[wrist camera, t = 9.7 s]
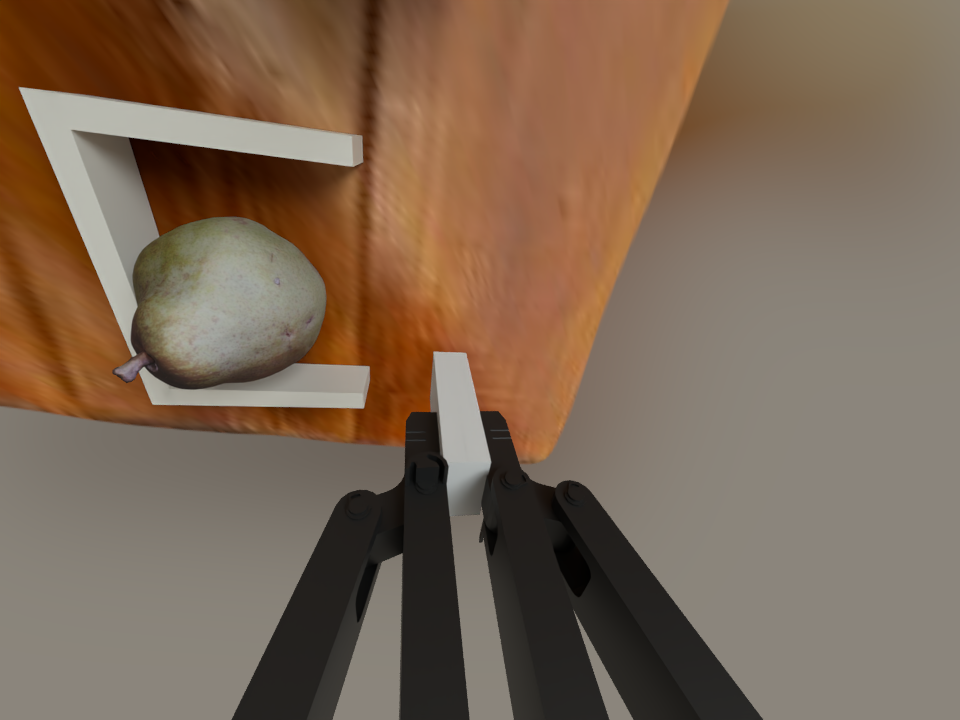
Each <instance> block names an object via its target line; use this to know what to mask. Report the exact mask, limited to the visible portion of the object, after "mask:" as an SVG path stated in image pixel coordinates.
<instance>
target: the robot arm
mask: <svg viewBox="0 0 960 720" xmlns="http://www.w3.org/2000/svg"><path fill="white" fill-rule="evenodd" d="M430 403H431V412H411V414H410V416H409V417H408V419H407V420H406V439H405V474H404V477H403V479H402V481H401V482H400V483H399V484H398V486H396V487H395V488H393V489H392V490H389V491H387V492H384V493H381V494H379V495H376V494H375V493H373V492H370V491H368V490H357V491H353V492H350V493H348V494H347V495H345V496H344V497H342V498H341V499H340V501H339V502H338V503H337V505H336V506H335V508H334V511H333V513H332V515H331V517H330V519H329V521H328V523H327V525H326V527H325V529H324V531H323V533H322V535H321V537H320V539H319V541H318V543H317V546H316V547H315V549H314V552H313V554H312V556H311V558H310V560H309V562H308V564H307V566H306V568H305V570H304V572H303V574H302V576H301V578H300V580H299V582H298V584H297V586H296V588H295V591H294V593H293V595H292V597H291V599H290V601H289V603H288V605H287V607H286V609H285V611H284V613H283V615H282V617H281V619H280V622H279V624H278V625H277V628H276V630H275V632H274V634H273V636H272V638H271V640H270V642H269V644H268V646H267V648H266V650H265V652H264V654H263V656H262V658H261V661H260V662H259V665H258V667H257V669H256V671H255V673H254V675H253V677H252V679H251V681H250V683H249V685H248V687H247V689H246V691H245V693H244V695H243V698H242V699H241V701H240V704H239V706H238V708H237V710H236V712H235V714H234V716H233V718H232V720H332V719H333V716H334V712H335V709H336V706H337V703H338V700H339V697H340V693H341V690H342V687H343V684H344V681H345V677H346V674H347V671H348V668H349V665H350V661H351V658H352V655H353V652H354V649H355V645H356V642H357V639H358V636H359V633H360V630H361V626H362V623H363V620H364V617H365V614H366V610H367V607H368V604H369V601H370V597H371V594H372V591H373V588H374V585H375V582H376V579H377V575H378V572H379V569H380V566H381V563H382V561H385V560H387V559H390V558H392V557H394V556H397V555H399V554H401V553H403V564H402V612H401V614H402V615H401V660H400V662H401V663H400V710H399V712H400V713H399V720H469V710H468V699H467V689H466V679H465V668H464V658H463V648H462V639H461V628H460V618H459V607H458V598H457V597H458V596H457V586H456V576H455V566H454V555H453V545H452V535H451V525H450V516H461V515H462V516H463V515H479V514H480V511H481V506H482V510H483V515H484V519H483V523H482V528H481V532H480V537H479V538H480V539H479V542H482V541H483V537H484V543H485V549H486V555H487V561H488V567H489V573H490V579H491V585H492V591H493V597H494V603H495V609H496V614H497V621H498V627H499V633H500V639H501V644H502V651H503V656H504V663H505V669H506V674H507V680H508V686H509V692H510V698H511V704H512V710H513V716H514V720H609V717H608V714H607V711H606V708H605V705H604V703H603V699H602V696H601V693H600V690H599V687H598V684H597V681H596V678H595V675H594V672H593V669H592V666H591V662H590V659H589V656H588V653H587V650H586V647H585V644H584V641H583V638H582V635H581V632H580V629H579V626H578V623H577V620H576V617H575V614H574V611H575V613H576V615H577V617H578V619H579V620H580V622H581V624H582V626H583V628H584V630H585V631H586V633H587V635H588V637H589V639H590V641H591V642H592V644H593V646H594V648H595V650H596V651H597V653H598V655H599V657H600V659H601V661H602V663H603V664H604V666H605V668H606V670H607V672H608V674H609V675H610V677H611V679H612V681H613V683H614V685H615V687H616V688H617V690H618V692H619V694H620V695H621V698H622V699H623V701H624V703H625V705H626V707H627V709H628V710H629V712H630V714H631V716H632V717H633V719H634V720H763V719H762V717H761V716H760V715H759V713H758V712H757V711H756V710H755V709H754V707H753V706H752V704H751V703H750V702H749V700H748V699H747V698H746V696H745V695H744V694H743V692H742V691H741V690H740V688H739V687H738V686H737V684H736V683H735V682H734V680H733V679H732V678H731V676H730V675H729V674H728V673H727V671H726V670H725V669H724V667H723V666H722V665H721V663H720V662H719V661H718V659H717V658H716V657H715V655H714V654H713V653H712V651H711V650H710V649H709V647H708V646H707V645H706V643H705V642H704V641H703V639H702V638H701V637H700V635H699V634H698V633H697V631H696V630H695V629H694V628H693V626H692V625H691V624H690V622H689V621H688V620H687V618H686V617H685V616H684V614H683V613H682V612H681V610H680V609H679V608H678V606H677V605H676V604H675V602H674V601H673V600H672V598H671V597H670V596H669V594H668V593H667V592H666V591H665V589H664V588H663V587H662V585H661V584H660V583H659V581H658V580H657V579H656V577H655V576H654V575H653V573H652V572H651V571H650V569H649V568H648V567H647V565H646V564H645V563H644V561H643V560H642V559H641V557H640V556H639V555H638V553H637V552H636V551H635V550H634V548H633V547H632V546H631V544H630V543H629V542H628V540H627V539H626V538H625V536H624V535H623V534H622V532H621V531H620V530H619V528H618V527H617V526H616V525H615V523H614V522H613V520H612V519H611V518H610V516H609V515H608V514H607V512H606V511H605V510H604V509H603V507H602V506H601V505H600V503H599V502H598V501H597V500H596V498H595V497H594V495H593V494H592V493H591V492H590V490H589V489H588V488H586V487H585V486H584V485H582V484H580V483H579V482H575V481H571V480H569V481H563V482H561V483H559V484H558V485H557V487H556V488H554V487H550V486H546V485H542V484H539V483H536V482H534V481H532V480H531V479H530V478H529V476H528V475H527V474H526V473H525V472H524V471H523V470H522V469H521V467H520V464H519V461H518V458H517V455H516V452H515V448H514V445H513V442H512V439H511V436H510V432H509V431H508V430H509V429H508V426H507V423H506V420H505V419H504V417H503V416H502V415H501V414H500V413H499V412H498V411H479V407H478V403H477V398H476V394H475V390H474V386H473V381H472V377H471V373H470V368H469V364H468V360H467V355H466V353H455V352H434V355H433V368H432V381H431V394H430ZM573 609H574V611H573Z"/></svg>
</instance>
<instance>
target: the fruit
mask: <svg viewBox="0 0 960 720" xmlns="http://www.w3.org/2000/svg"><path fill="white" fill-rule="evenodd" d="M132 278H133V287H134V292H135V297H136V302H137V306H138V307H137V309H136V311H135V313H134V316H133V320H132V326H131V345H132V347H133V349H134V350H135V352H136V354H137V355H136V356H134V357H131V359H130V360H129V361H128V362H126V363H125V364H124V365H122V366H120V367H116V368H115V369H114V370H113V374H114V375H117V376H118V377H119V378H121V379H122V380H123V381H125V382H126V383H128V382H131V381H133V380H134V379H135V377H136V375H137V373H138V372H139V371H140V370H141V369H142V368H143V367H145V368H146V370H147V371H148V372H149V373H151V374H152V375H153V376H154V377H155V378H157V379H159V380H160V381H162V382H164V383H166V384H168V385H170V386H173V387H176V388H179V389H187V390H196V389H205V388H210V387H214V386H217V385H220V384H223V383H245V382H250V381H255V380H259V379H263V378H266V377H268V376H271V375H273V374H275V373H278V372H280V371H282V370H284V369H285V368H287V367H289V366H291V365H292V364H294V363H296V362H297V361H299V360H300V359H301V358H303V357H304V355H305V354H306V353H307V352H308V351H309V350H310V349H311V347H312V346H313V344H314V343H315V341H316V339H317V337H318V334H319V331H320V328H321V325H322V322H323V319H324V314H325V307H326V291H325V284H324V282H323V280H322V278H321V276H320V274H319V273H318V271H317V270H316V269H315V268H314V266H313V265H312V264H311V263H310V262H309V260H308V259H307V258H306V257H305V256H304V254H303V253H302V252H301V251H300V250H299V249H298V248H297V247H295V246H294V245H293V244H292V243H290V242H289V241H287V240H286V239H284V238H282V237H280V236H279V235H277V234H275V233H274V232H272V231H270V230H269V229H268V228H266V227H265V226H263V225H261V224H259V223H257V222H255V221H252V220H250V219H247V218H240V217H215V218H209V219H204V220H200V221H196V222H191V223H188V224H185V225H182V226H179V227H177V228H175V229H174V230H172V231H170V232H168V233H166V234H164V235H162V236H160V237H159V238H157V239H155V240H154V241H152V242H151V243H150V244H148V245H147V246H146V247H145V248H144V249H143V250H142V251H141V253H140V254H139V256H138V258H137V260H136V262H135V264H134V269H133V275H132Z"/></svg>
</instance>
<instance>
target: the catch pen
mask: <svg viewBox="0 0 960 720" xmlns="http://www.w3.org/2000/svg"><path fill="white" fill-rule="evenodd" d="M19 89H20V92H21V94H22V96H23V99H24V101H25V103H26V106H27V108H28V111H29V113H30V115H31V118H32V120H33V122H34V125H35V127H36V130H37V132H38V134H39V137H40V139H41V141H42V144H43V146H44V148H45V151H46V153H47V156H48V158H49V160H50V163H51V165H52V167H53V170H54V172H55V175H56V177H57V179H58V182H59V184H60V186H61V189H62V191H63V193H64V196H65V198H66V201H67V203H68V205H69V208H70V210H71V212H72V215H73V217H74V220H75V222H76V224H77V227H78V229H79V231H80V234H81V236H82V238H83V241H84V243H85V246H86V248H87V250H88V253H89V255H90V257H91V260H92V262H93V265H94V267H95V269H96V272H97V274H98V276H99V279H100V281H101V283H102V286H103V288H104V291H105V293H106V295H107V298H108V300H109V302H110V305H111V307H112V310H113V312H114V314H115V317H116V319H117V321H118V324H119V326H120V328H121V331H122V333H123V336H124V338H125V340H126V343H127V345H128V347H129V350H130V352H131V355H132V357H134V356H136V355H137V354H136V352H135V350H134V349H133V347H132V345H131V326H132V320H133V316H134V313H135V311H136V309H137V307H138V306H137V302H136V297H135V292H134V287H133V278H132V275H133V269H134V264H135V262H136V260H137V258H138V256H139V254H140V253H141V251H142V250H143V249H144V248H145V247H146V246H147V245H148V244H150V243H151V242H152V241H154V240H155V239H157V238H159V233H158V230H157V227H156V224H155V221H154V218H153V214H152V211H151V208H150V205H149V202H148V198H147V195H146V192H145V189H144V186H143V183H142V179H141V176H140V173H139V170H138V167H137V164H136V160H135V157H134V154H133V151H132V148H131V145H130V141H129V138H128V137H131V138H138V139H146V140H154V141H161V142H169V143H176V144H184V145H191V146H199V147H207V148H214V149H222V150H229V151H237V152H245V153H252V154H260V155H267V156H275V157H282V158H290V159H298V160H305V161H313V162H320V163H328V164H336V165H343V166H351V167H354V166H356V165H358V164H360V163H363V144H362V136H361V135H354V134H347V133H340V132H334V131H327V130H320V129H313V128H306V127H300V126H293V125H286V124H279V123H272V122H266V121H259V120H252V119H245V118H239V117H232V116H225V115H218V114H211V113H205V112H198V111H191V110H184V109H177V108H171V107H164V106H157V105H150V104H143V103H137V102H130V101H123V100H116V99H110V98H103V97H96V96H89V95H82V94H73V93H64V92H56V91H47V90H39V89H30V88H22V87H19ZM139 373H140V376H141V378H142V381H143V383H144V385H145V388H146V390H147V392H148V395H149V397H150V400H151V402H152V404H153V405H204V406H262V407H319V408H364V405H365V400H366V396H367V391H368V387H369V382H370V367H369V366H349V365H323V364H296V363H294V364H292V365H291V366H289V367H287V368H285V369H284V370H282V371H280V372H278V373H275V374H273V375H271V376H268V377H266V378H263V379H259V380H255V381H250V382H245V383H223V384H220V385H217V386H214V387H210V388H205V389H196V390H187V389H179V388H176V387H173V386H170V385H168V384H166V383H164V382H162V381H160V380H159V379H157V378H155V377H154V376H153V375H152V374H151V373H149V372H148V371H147V370H146V368H145V367H143V368H142V369H141V370H140V371H139Z"/></svg>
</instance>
